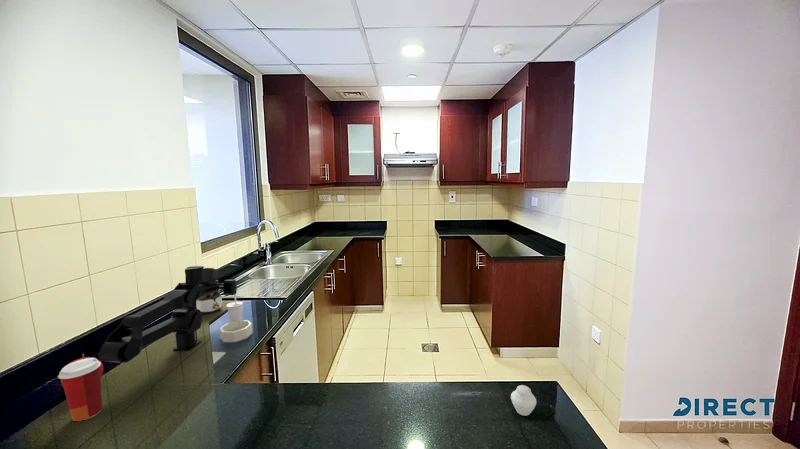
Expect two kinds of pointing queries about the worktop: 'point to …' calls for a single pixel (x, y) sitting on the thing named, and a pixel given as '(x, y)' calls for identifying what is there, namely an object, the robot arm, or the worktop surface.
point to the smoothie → (235, 310)
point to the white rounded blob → (523, 400)
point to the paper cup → (82, 388)
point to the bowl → (236, 331)
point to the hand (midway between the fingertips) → (227, 282)
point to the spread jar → (209, 304)
